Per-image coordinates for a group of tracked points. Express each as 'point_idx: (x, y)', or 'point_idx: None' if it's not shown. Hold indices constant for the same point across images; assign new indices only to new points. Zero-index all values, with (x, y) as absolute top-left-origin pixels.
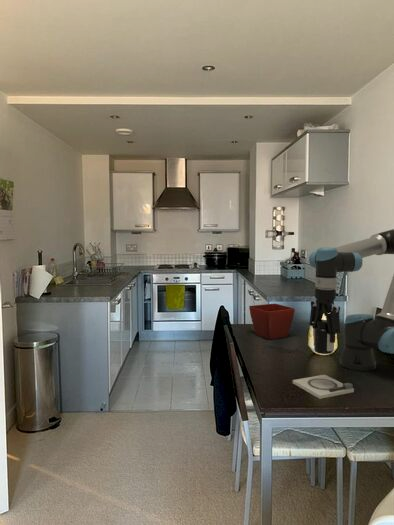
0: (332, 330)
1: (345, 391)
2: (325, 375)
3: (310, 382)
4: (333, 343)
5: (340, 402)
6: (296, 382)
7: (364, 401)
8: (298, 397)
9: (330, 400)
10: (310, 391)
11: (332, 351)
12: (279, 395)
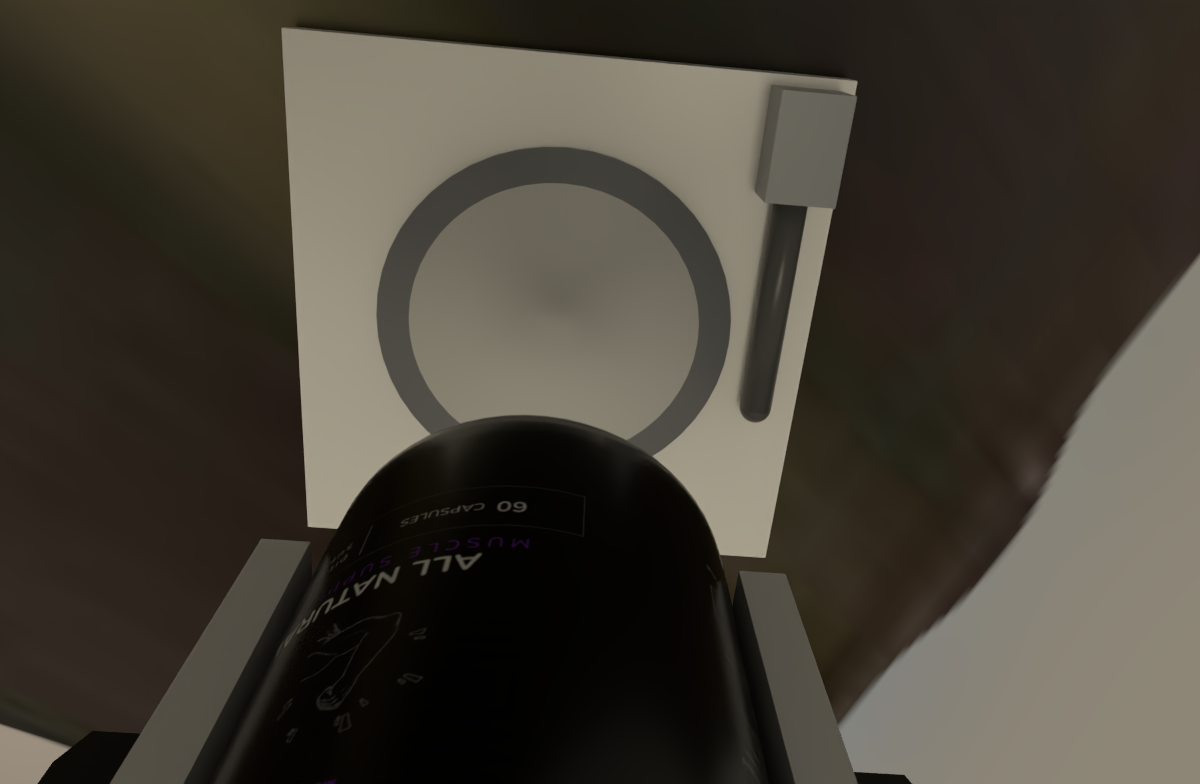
0: None
1: (826, 224)
2: (318, 46)
3: (460, 422)
4: (823, 714)
5: (924, 431)
6: None
7: (1072, 193)
8: None
9: (837, 479)
10: None
11: (699, 508)
12: None
